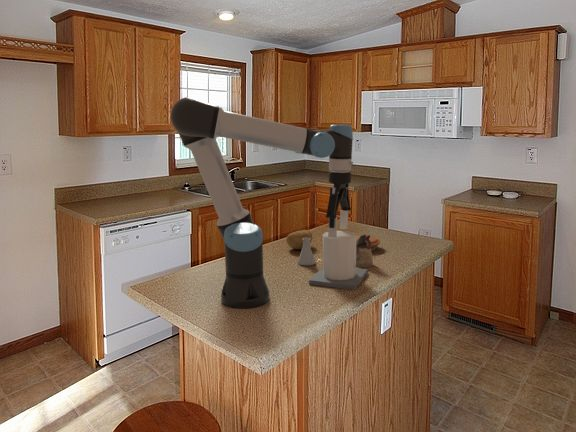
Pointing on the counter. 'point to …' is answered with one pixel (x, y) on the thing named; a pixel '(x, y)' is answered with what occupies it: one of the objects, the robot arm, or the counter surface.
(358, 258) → the figurine
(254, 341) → the counter surface
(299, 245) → the potato
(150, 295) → the counter surface
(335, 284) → the slate board
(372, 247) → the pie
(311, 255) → the flask
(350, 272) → the white cylinder
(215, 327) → the counter surface
